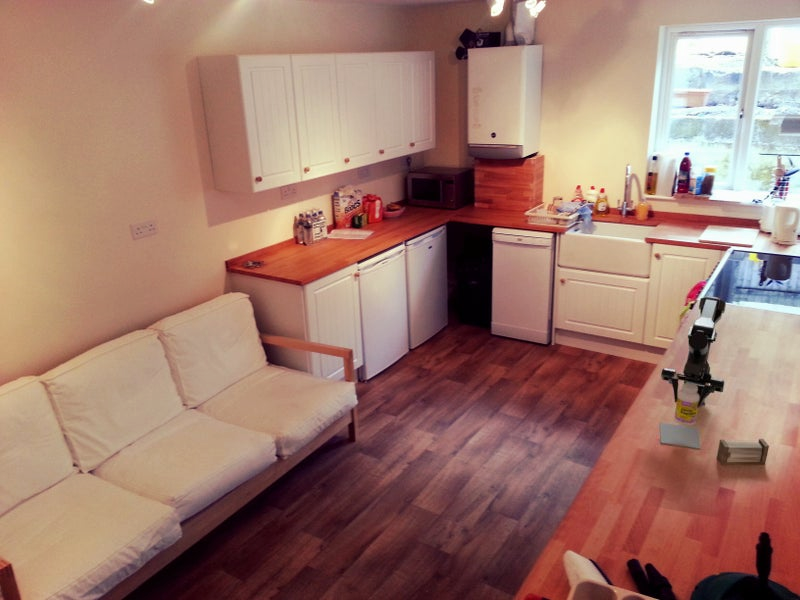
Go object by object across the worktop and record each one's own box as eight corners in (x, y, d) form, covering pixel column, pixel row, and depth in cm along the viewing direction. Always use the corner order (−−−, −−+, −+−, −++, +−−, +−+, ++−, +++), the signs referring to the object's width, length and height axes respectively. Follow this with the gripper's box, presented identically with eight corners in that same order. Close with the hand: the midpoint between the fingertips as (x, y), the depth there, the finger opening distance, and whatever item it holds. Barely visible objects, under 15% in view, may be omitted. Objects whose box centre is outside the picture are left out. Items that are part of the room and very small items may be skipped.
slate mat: (660, 423, 226) (660, 422, 225) (698, 429, 222) (698, 428, 222) (660, 443, 215) (660, 442, 215) (700, 449, 211) (700, 448, 211)
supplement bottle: (675, 424, 213) (680, 390, 208) (673, 413, 219) (677, 380, 214) (698, 426, 212) (702, 392, 207) (694, 415, 218) (699, 381, 213)
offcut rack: (716, 458, 207) (719, 439, 204) (759, 457, 206) (763, 438, 204) (721, 465, 203) (725, 446, 201) (765, 464, 203) (769, 446, 200)
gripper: (665, 346, 214) (655, 391, 210) (728, 358, 205) (718, 405, 201) (667, 356, 223) (657, 400, 219) (727, 368, 214) (718, 414, 210)
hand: (686, 404), depth 212 cm, fingers closed on supplement bottle, 7 cm apart
